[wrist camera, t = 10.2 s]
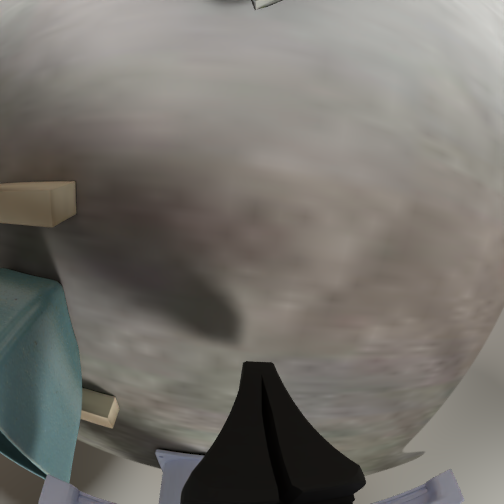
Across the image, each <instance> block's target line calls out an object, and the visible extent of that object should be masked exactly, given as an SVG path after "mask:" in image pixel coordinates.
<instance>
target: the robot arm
mask: <svg viewBox="0 0 504 504" xmlns="http://www.w3.org/2000/svg"><path fill="white" fill-rule="evenodd" d="M155 454H156V457H157V459H158V462H159V464H160V466H161V469H162V471H163V475H162V483H161V490H160V498H159V504H353V501H354V500H355V498H354V493H355V492H357V491H358V490H360V489H361V488H362V487H363V486H364V485H365V484H366V480H365V477H364V474H363V472H362V470H361V468H360V466H359V465H358V464H356V463H355V462H353V461H352V460H350V459H349V458H347V457H346V456H344V455H343V454H342V453H340V452H339V451H338V450H337V449H335V448H334V447H333V446H332V445H331V444H330V443H329V442H327V441H326V440H325V439H324V438H323V437H322V436H321V435H320V434H319V433H318V432H317V431H316V430H315V429H314V428H313V427H312V425H311V424H310V423H309V422H308V421H307V419H306V418H305V417H304V416H303V414H302V413H301V412H300V410H299V409H298V407H297V406H296V405H295V403H294V401H293V400H292V398H291V397H290V395H289V393H288V392H287V390H286V388H285V387H284V385H283V383H282V381H281V379H280V377H279V375H278V373H277V371H276V368H275V366H274V364H273V363H271V362H249V361H246V362H244V363H243V367H242V373H241V380H240V386H239V391H238V394H237V397H236V400H235V402H234V405H233V407H232V410H231V412H230V414H229V416H228V418H227V420H226V422H225V424H224V426H223V428H222V430H221V432H220V433H219V435H218V437H217V438H216V440H215V442H214V443H213V445H212V446H211V447H210V449H209V450H208V452H207V453H206V455H205V456H203V455H194V454H186V453H179V452H172V451H166V450H160V449H157V450H156V452H155ZM463 501H464V498H463V495H462V493H461V490H460V488H459V486H458V483H457V481H456V479H455V477H454V474H453V472H452V470H451V469H449V470H447V471H445V472H443V473H441V474H439V475H437V476H435V477H433V478H432V479H430V480H429V481H427V482H426V483H425V484H423V485H421V486H418V487H416V488H414V489H411V490H409V491H406V492H404V493H401V494H398V495H396V496H393V497H390V498H387V499H384V500H381V501H378V502H375V503H371V504H460V503H462V502H463ZM38 504H116V503H113V502H109V501H106V500H103V499H100V498H97V497H94V496H92V495H89V494H86V493H84V492H81V491H79V490H78V489H77V488H76V487H74V486H73V485H71V484H69V483H67V482H65V481H62V480H60V479H58V478H56V477H54V476H52V475H50V474H47V476H46V479H45V482H44V486H43V489H42V492H41V496H40V499H39V502H38Z"/></svg>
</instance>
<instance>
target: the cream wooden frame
mask: <svg viewBox="0 0 504 504" xmlns="http://www.w3.org/2000/svg"><path fill="white" fill-rule="evenodd" d="M75 214H77V213H76V187H75V181H50V182H19V183H0V223H7V224H19V225H30V226H42V227H54V226H56V225H58V224H59V223H61V222H63V221H64V220H66V219H68V218H70V217H71V216H73V215H75ZM118 411H119V406H118V403H117V401H116V398H115V397H114V396H110V395H106V394H102V393H98V392H95V391H91V390H88V389H85V388H82V410H81V418H80V419H83V420H86V421H89V422H92V423H95V424H98V425H102V426H105V427H109V428H112V429H113V426H114V423H115V420H116V417H117V414H118Z"/></svg>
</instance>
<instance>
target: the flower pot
mask: <svg viewBox="0 0 504 504" xmlns="http://www.w3.org/2000/svg"><path fill="white" fill-rule="evenodd" d="M81 410H82V376H81V366H80V357H79V349H78V345H77V342H76V339H75V335H74V332H73V328H72V325H71V321H70V317H69V313H68V309H67V305H66V300H65V295H64V291H63V288H62V286H61V285H60V284H59V283H58V282H57V281H55V280H51V279H46V278H41V277H37V276H32V275H28V274H24V273H21V272H17V271H13V270H10V269H5V268H0V453H1V454H3V455H4V456H6V457H7V458H9V459H10V460H12V461H14V462H15V463H17V464H18V465H20V466H22V467H23V468H25V469H27V470H29V471H30V472H32V473H34V474H36V475H37V476H39V477H42V478H43V479H46V476H47V474H50V475H52V476H54V477H56V478H58V479H60V480H62V481H65V482H67V483H69V481H70V474H71V467H72V462H73V456H74V450H75V445H76V440H77V434H78V429H79V424H80V418H81Z"/></svg>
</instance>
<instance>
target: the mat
mask: <svg viewBox="0 0 504 504" xmlns="http://www.w3.org/2000/svg"><path fill="white" fill-rule="evenodd" d="M251 1H252V4H253V6H254V9H255V10H256V9H260V8H264V7H268V6H270V5H273V4H275V3H277V2H280V1H282V0H251Z"/></svg>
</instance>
